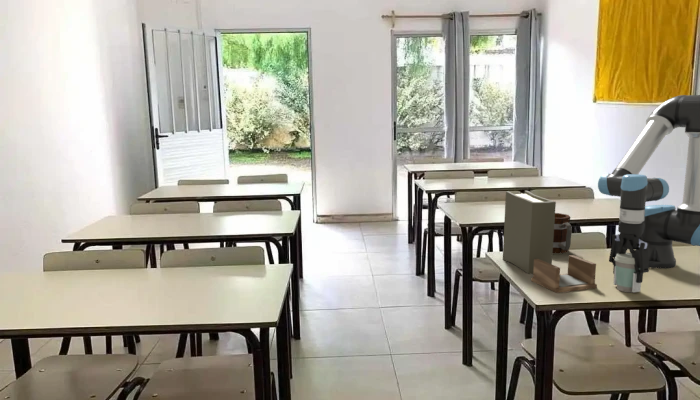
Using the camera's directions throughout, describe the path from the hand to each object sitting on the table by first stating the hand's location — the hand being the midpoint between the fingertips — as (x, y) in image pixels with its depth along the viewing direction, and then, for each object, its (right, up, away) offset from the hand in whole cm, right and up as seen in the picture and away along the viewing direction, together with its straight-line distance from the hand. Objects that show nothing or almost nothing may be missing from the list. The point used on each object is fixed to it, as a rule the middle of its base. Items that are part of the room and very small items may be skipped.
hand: (626, 287), depth 194 cm
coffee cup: (0, -1, 0) cm, 1 cm away
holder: (-19, 0, +7) cm, 20 cm away
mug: (-5, +7, +51) cm, 52 cm away
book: (-25, +4, +30) cm, 39 cm away
